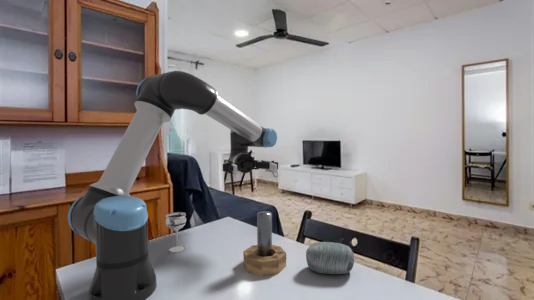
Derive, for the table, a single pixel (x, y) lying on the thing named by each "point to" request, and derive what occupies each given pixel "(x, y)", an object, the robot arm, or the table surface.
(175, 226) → the wineglass
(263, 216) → the rod
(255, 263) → the brown thick faceted ring
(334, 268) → the grey yarn skein
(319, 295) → the table surface
